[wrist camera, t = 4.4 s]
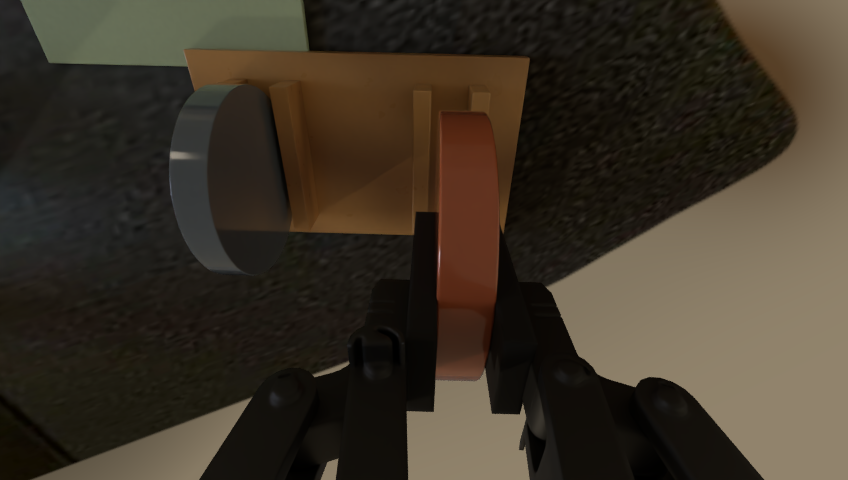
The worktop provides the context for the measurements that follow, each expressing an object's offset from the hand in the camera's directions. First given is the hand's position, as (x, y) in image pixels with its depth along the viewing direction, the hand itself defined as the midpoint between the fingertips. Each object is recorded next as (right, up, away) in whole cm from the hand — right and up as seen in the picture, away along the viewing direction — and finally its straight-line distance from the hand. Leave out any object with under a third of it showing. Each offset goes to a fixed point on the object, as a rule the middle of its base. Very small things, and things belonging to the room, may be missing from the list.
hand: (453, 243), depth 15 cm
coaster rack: (-5, +6, +11) cm, 13 cm away
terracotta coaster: (0, 0, 0) cm, 0 cm away
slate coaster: (-11, +3, +5) cm, 12 cm away
